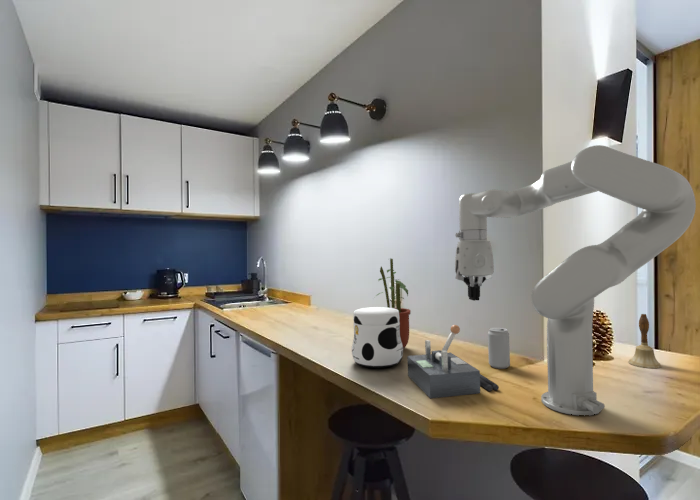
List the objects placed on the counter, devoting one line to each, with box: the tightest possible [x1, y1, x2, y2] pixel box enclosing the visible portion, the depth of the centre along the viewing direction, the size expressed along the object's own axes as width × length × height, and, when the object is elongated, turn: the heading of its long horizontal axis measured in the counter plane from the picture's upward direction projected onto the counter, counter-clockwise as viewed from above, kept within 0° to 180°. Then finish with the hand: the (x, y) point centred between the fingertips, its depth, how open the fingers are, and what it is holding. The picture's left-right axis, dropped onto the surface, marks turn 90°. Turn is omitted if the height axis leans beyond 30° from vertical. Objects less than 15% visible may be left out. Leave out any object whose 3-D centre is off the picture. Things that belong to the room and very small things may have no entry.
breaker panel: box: [407, 339, 481, 399], centre depth 109 cm, size 18×14×11 cm
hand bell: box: [628, 313, 662, 370], centre depth 121 cm, size 8×8×16 cm
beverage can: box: [487, 327, 511, 370], centre depth 123 cm, size 6×6×12 cm
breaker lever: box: [435, 324, 461, 361], centre depth 110 cm, size 4×3×11 cm, turn 10°
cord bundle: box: [480, 373, 499, 392], centre depth 111 cm, size 18×3×2 cm, turn 10°
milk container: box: [351, 306, 404, 369], centre depth 130 cm, size 17×17×18 cm
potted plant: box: [372, 257, 412, 350], centre depth 149 cm, size 17×16×35 cm
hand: (474, 299), depth 111 cm, fingers closed
